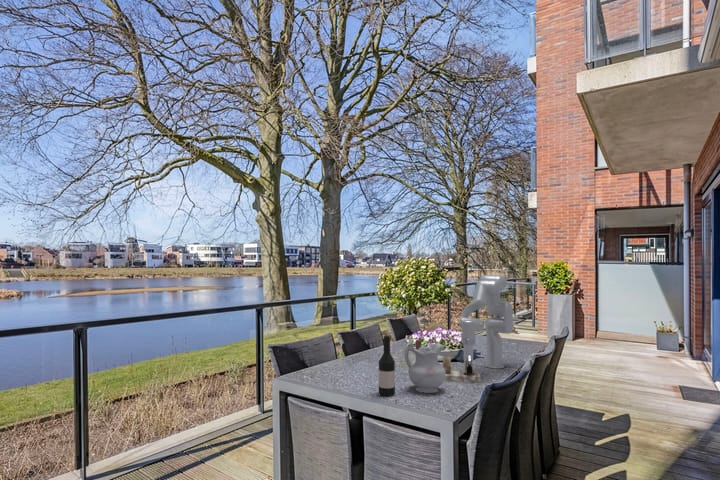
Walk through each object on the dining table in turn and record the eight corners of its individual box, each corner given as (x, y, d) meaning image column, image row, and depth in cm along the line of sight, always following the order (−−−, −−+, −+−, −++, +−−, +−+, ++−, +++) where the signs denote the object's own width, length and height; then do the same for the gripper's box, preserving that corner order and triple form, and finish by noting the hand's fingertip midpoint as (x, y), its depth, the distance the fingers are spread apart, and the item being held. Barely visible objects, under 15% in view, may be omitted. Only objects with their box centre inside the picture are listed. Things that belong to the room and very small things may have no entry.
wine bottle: (377, 392, 223) (377, 334, 225) (393, 391, 224) (393, 333, 225) (379, 397, 215) (379, 336, 216) (396, 396, 215) (396, 336, 217)
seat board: (478, 376, 253) (478, 356, 253) (480, 382, 241) (480, 361, 241) (437, 374, 257) (437, 354, 258) (437, 380, 245) (437, 359, 246)
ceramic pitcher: (415, 399, 214) (418, 350, 214) (397, 386, 232) (399, 340, 231) (451, 394, 223) (453, 347, 222) (431, 382, 241) (433, 338, 240)
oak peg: (472, 378, 250) (472, 357, 250) (473, 380, 245) (473, 359, 246) (464, 377, 251) (464, 357, 251) (464, 380, 246) (464, 359, 247)
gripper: (461, 338, 258) (461, 367, 257) (462, 344, 241) (463, 375, 240) (474, 338, 257) (474, 368, 256) (476, 344, 240) (476, 375, 239)
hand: (468, 371), depth 248 cm, fingers open, 8 cm apart
